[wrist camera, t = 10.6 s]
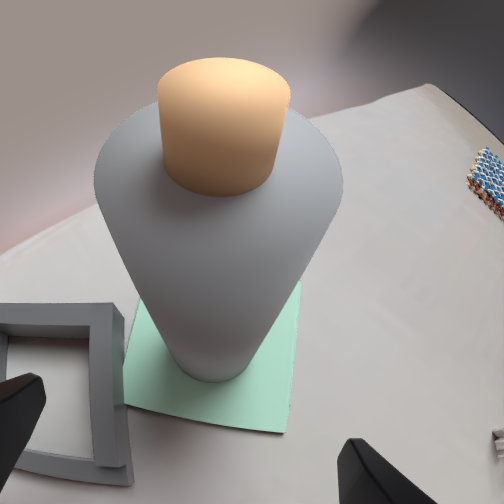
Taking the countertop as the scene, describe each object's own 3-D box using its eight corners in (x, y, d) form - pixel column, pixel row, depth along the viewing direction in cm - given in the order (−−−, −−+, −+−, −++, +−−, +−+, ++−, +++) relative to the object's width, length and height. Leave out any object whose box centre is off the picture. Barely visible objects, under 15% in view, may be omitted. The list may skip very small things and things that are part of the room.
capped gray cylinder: (185, 394, 15) (70, 252, 3) (160, 314, 17) (79, 57, 5) (268, 366, 16) (430, 168, 4) (237, 291, 18) (290, 30, 6)
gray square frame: (134, 481, 13) (122, 490, 10) (-5, 458, 11) (-28, 458, 9) (124, 318, 17) (112, 302, 15) (-3, 317, 16) (-23, 302, 13)
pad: (284, 432, 15) (285, 432, 15) (117, 401, 15) (115, 400, 14) (299, 283, 20) (301, 280, 19) (155, 256, 19) (154, 253, 19)
